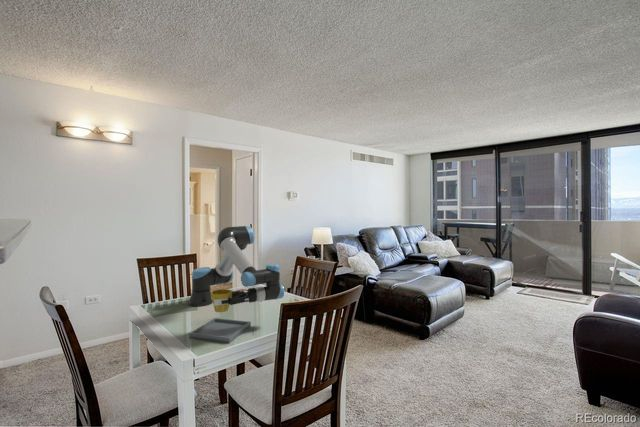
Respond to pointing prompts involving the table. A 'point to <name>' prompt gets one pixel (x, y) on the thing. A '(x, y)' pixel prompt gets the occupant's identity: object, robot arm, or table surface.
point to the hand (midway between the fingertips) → (212, 299)
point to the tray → (220, 330)
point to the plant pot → (221, 295)
